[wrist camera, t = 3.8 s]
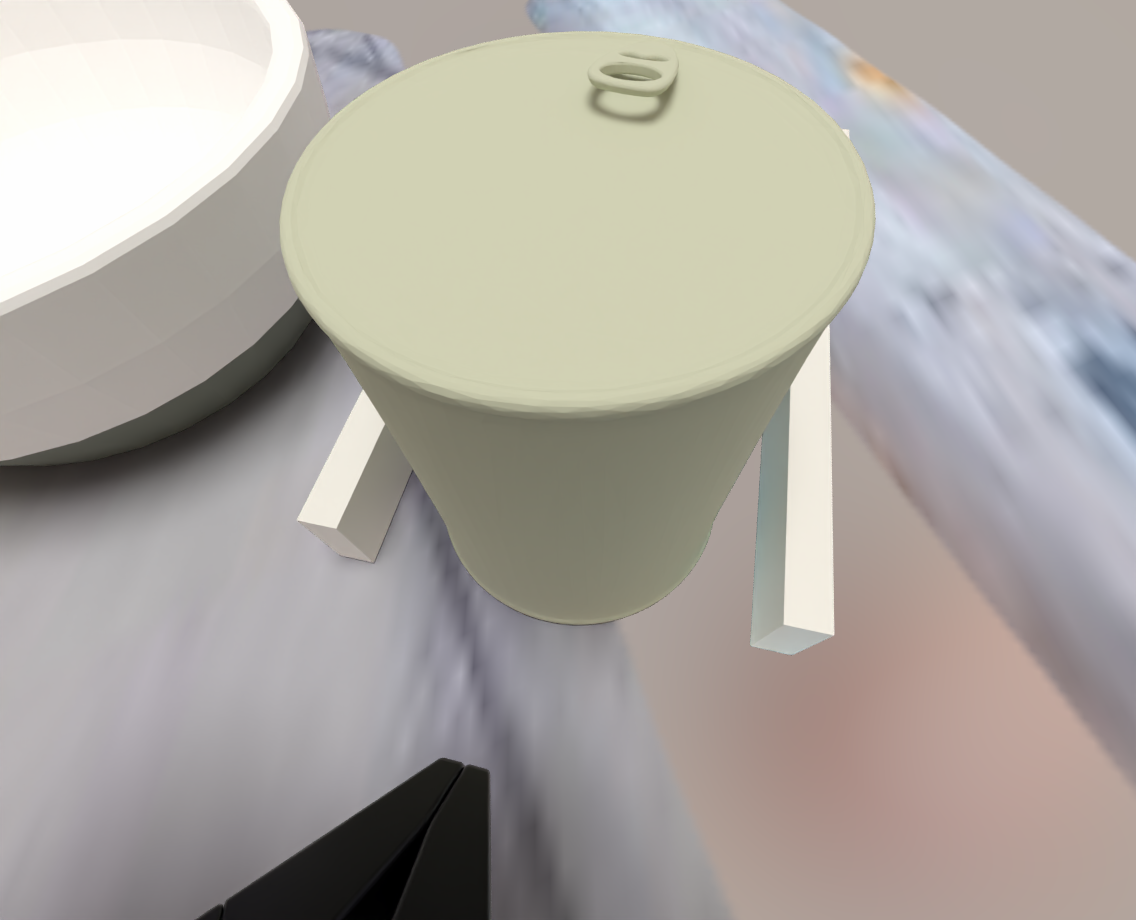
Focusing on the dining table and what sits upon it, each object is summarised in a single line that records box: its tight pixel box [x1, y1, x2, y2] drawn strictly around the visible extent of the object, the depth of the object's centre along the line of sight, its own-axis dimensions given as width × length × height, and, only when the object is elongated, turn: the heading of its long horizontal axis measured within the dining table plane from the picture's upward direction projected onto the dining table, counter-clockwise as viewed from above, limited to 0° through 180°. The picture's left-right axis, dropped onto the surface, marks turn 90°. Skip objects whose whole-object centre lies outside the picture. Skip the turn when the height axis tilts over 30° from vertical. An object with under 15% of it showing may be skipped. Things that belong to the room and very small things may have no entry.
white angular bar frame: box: [297, 129, 849, 655], centre depth 19 cm, size 18×14×5 cm
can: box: [279, 31, 875, 625], centre depth 13 cm, size 9×9×12 cm
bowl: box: [0, 0, 331, 466], centre depth 20 cm, size 22×22×8 cm
